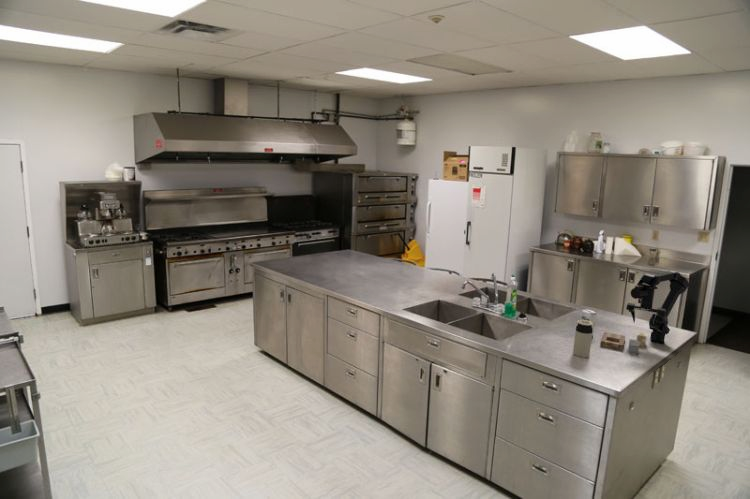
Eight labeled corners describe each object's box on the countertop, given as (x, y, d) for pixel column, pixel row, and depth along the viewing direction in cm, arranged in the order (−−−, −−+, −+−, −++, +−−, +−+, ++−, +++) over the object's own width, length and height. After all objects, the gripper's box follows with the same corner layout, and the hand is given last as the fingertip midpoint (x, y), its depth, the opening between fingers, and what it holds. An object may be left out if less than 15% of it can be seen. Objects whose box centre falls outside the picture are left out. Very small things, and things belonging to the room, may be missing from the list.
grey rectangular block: (637, 349, 266) (638, 340, 265) (637, 355, 258) (639, 346, 257) (628, 347, 268) (629, 339, 267) (628, 353, 260) (629, 344, 259)
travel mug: (581, 358, 251) (585, 325, 247) (569, 352, 258) (573, 320, 254) (592, 356, 254) (597, 323, 250) (580, 350, 261) (584, 318, 257)
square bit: (645, 344, 273) (646, 334, 272) (645, 346, 270) (646, 336, 268) (636, 342, 276) (637, 332, 274) (635, 345, 272) (637, 334, 271)
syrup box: (578, 333, 286) (581, 310, 283) (586, 332, 289) (589, 309, 286) (586, 337, 281) (589, 313, 278) (593, 336, 283) (596, 312, 280)
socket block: (624, 340, 277) (625, 335, 277) (622, 350, 263) (623, 345, 262) (603, 336, 283) (604, 331, 282) (600, 346, 268) (600, 340, 268)
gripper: (667, 296, 269) (663, 323, 272) (629, 290, 279) (625, 316, 282) (667, 301, 260) (662, 329, 263) (628, 295, 269) (624, 322, 272)
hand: (643, 324), depth 270 cm, fingers open, 9 cm apart
